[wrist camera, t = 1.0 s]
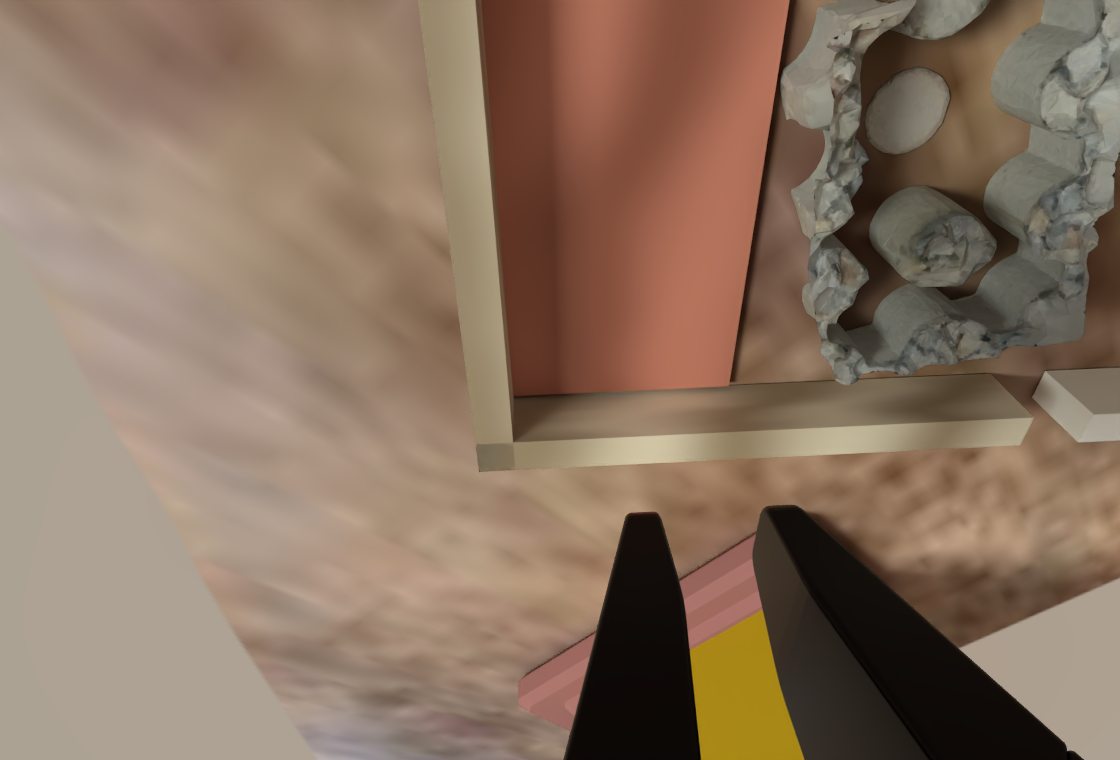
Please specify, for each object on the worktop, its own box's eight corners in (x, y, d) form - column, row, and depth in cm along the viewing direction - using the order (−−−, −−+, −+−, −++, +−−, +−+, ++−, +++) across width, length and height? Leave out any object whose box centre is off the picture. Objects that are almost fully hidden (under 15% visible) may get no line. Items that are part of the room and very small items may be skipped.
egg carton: (763, 2, 17) (823, 24, 13) (1075, -88, 16) (1222, -88, 13) (786, 345, 23) (831, 419, 19) (1013, 292, 22) (1100, 360, 19)
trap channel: (1261, -247, 14) (1385, -272, 12) (978, 400, 24) (1020, 445, 22) (405, -226, 14) (385, -249, 12) (483, 423, 24) (479, 471, 22)
